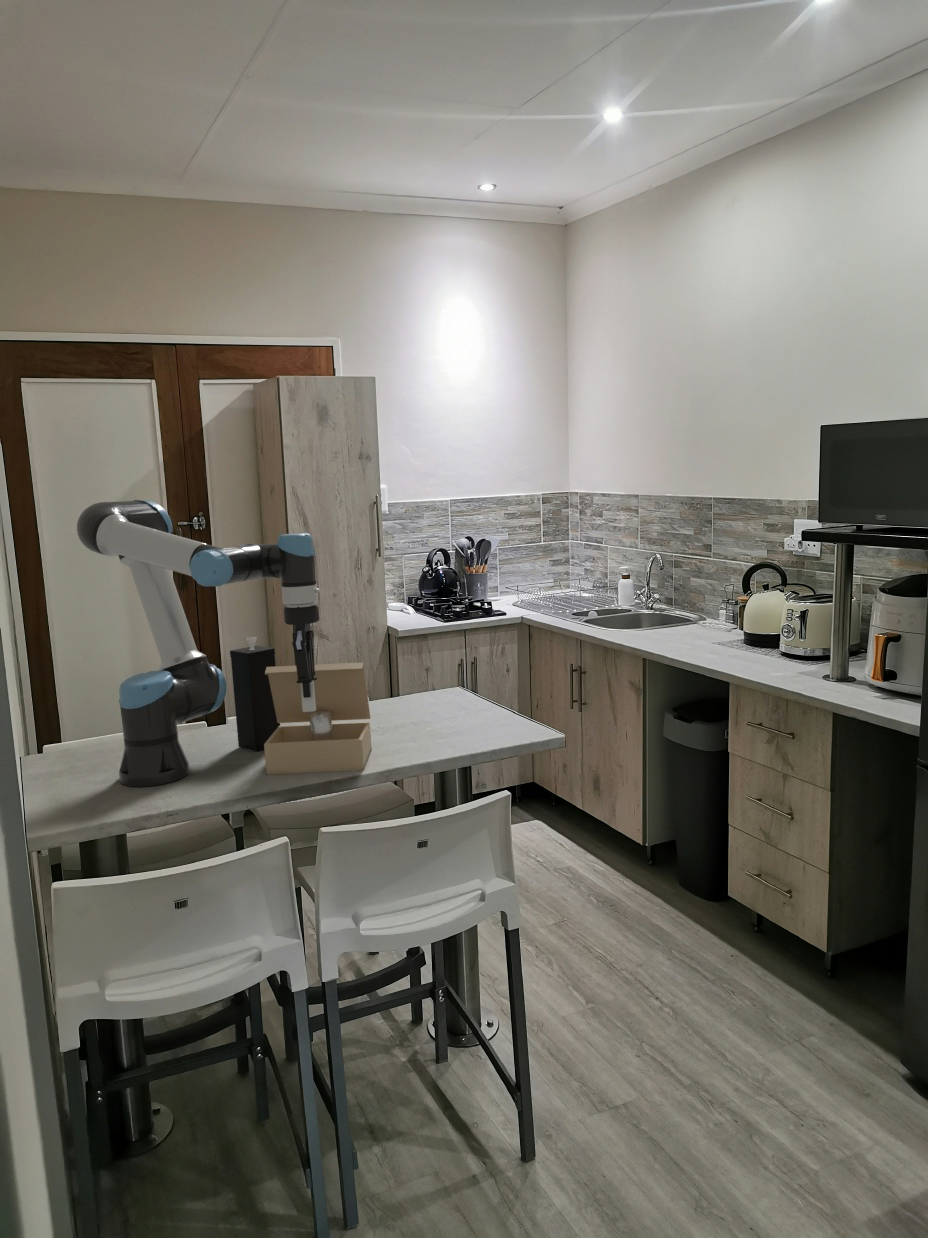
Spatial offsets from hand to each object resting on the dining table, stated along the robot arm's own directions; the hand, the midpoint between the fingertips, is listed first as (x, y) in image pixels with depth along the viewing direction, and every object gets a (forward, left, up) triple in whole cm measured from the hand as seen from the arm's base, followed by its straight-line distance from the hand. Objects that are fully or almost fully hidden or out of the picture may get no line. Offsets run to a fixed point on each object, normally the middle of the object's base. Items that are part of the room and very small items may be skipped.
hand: (309, 710), depth 203 cm
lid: (0, +12, 0) cm, 12 cm away
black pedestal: (-18, +26, -15) cm, 35 cm away
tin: (0, +14, -15) cm, 20 cm away
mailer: (0, +10, -15) cm, 18 cm away
